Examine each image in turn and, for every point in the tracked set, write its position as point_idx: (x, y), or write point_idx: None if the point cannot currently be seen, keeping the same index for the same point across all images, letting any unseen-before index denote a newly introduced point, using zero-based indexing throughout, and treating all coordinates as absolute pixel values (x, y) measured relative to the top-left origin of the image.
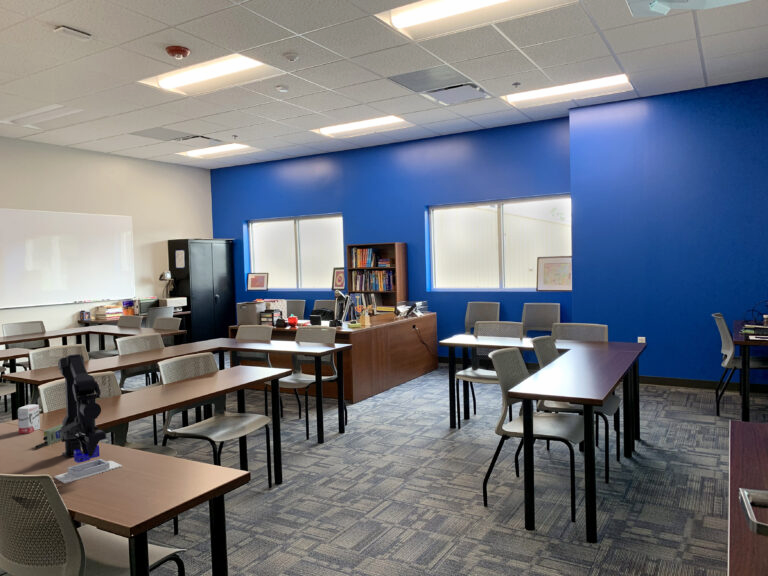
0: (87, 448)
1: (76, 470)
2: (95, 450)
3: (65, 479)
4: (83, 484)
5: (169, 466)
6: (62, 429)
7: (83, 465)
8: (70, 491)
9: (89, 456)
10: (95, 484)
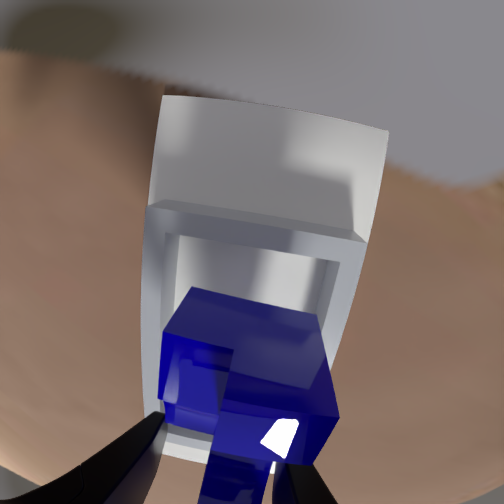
0: (92, 476)
1: (190, 235)
2: (199, 499)
3: (208, 125)
4: (43, 173)
5: (32, 457)
6: None
7: None
8: (20, 76)
9: (152, 415)
10: (2, 216)
